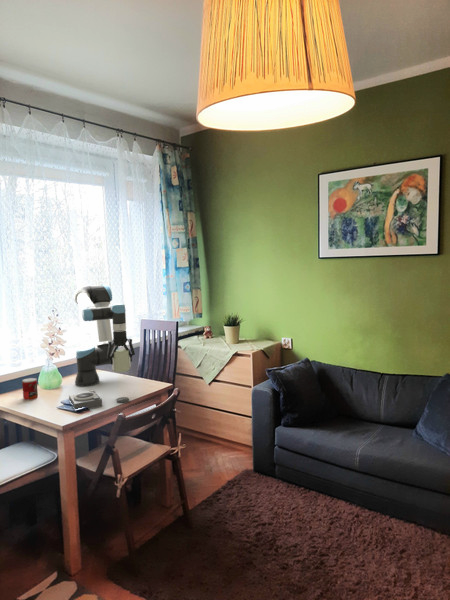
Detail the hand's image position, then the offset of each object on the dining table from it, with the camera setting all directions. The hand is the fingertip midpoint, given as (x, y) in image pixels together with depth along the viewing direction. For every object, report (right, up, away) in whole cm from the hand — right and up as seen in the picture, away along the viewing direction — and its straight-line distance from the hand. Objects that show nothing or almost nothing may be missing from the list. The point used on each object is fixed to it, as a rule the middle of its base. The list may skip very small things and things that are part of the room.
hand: (121, 368), depth 252 cm
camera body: (-16, -17, -16) cm, 28 cm away
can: (0, -1, 0) cm, 1 cm away
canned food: (-53, -17, -2) cm, 55 cm away
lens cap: (+4, -17, -13) cm, 21 cm away
